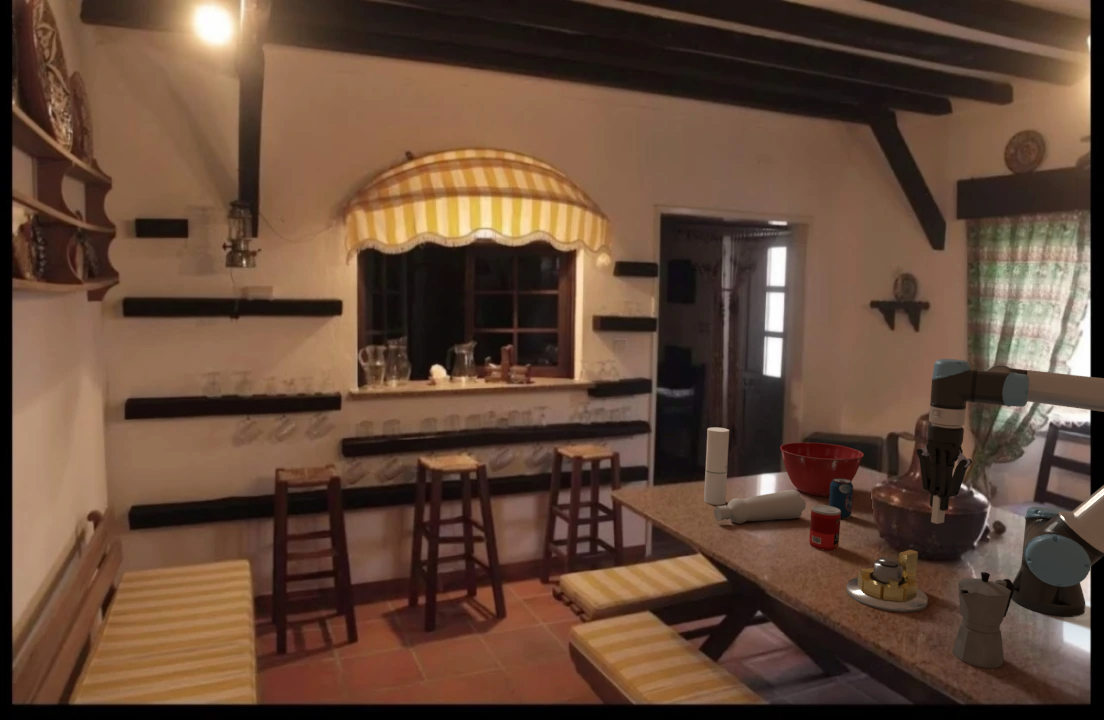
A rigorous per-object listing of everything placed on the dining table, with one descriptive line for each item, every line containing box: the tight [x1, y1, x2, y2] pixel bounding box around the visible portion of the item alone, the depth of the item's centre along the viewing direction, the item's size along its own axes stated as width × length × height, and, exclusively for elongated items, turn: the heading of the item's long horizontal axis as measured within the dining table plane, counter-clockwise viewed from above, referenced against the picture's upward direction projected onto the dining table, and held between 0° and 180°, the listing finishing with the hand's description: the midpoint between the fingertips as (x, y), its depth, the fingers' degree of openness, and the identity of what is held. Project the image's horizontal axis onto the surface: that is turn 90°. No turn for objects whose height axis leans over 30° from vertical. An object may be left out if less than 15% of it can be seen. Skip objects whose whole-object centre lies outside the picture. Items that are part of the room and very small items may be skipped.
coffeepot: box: [951, 571, 1015, 669], centre depth 155 cm, size 15×9×18 cm, turn 114°
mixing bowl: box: [779, 441, 865, 497], centre depth 276 cm, size 28×28×16 cm
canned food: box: [808, 504, 841, 551], centre depth 219 cm, size 8×8×11 cm
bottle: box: [713, 488, 807, 525], centre depth 241 cm, size 9×9×30 cm
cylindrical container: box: [703, 427, 730, 506], centre depth 260 cm, size 7×7×25 cm
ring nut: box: [857, 549, 919, 601], centre depth 186 cm, size 12×17×8 cm
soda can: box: [828, 478, 854, 519], centre depth 248 cm, size 7×7×12 cm
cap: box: [846, 556, 928, 613], centre depth 185 cm, size 18×18×9 cm
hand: (937, 522), depth 182 cm, fingers closed
